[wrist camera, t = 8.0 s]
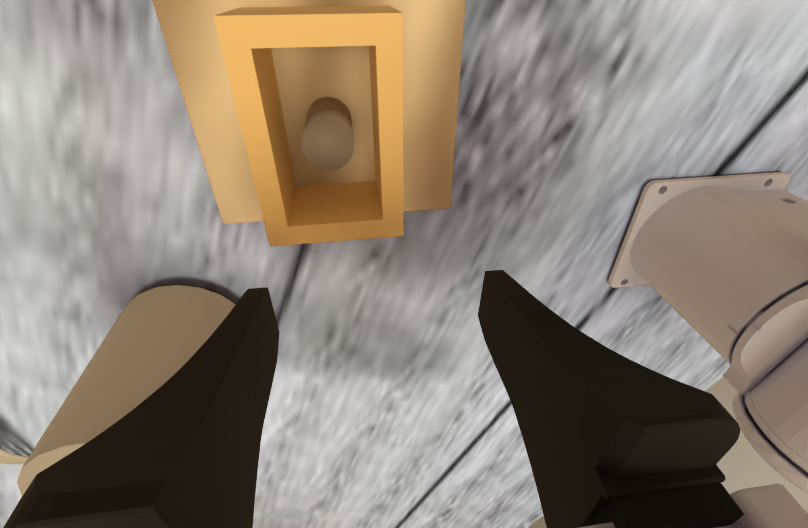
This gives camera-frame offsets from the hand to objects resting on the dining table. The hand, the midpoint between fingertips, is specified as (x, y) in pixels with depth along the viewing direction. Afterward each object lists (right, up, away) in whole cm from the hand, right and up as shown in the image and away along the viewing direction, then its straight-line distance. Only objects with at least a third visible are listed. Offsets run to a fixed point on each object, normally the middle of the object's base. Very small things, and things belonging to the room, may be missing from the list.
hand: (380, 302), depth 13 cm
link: (-3, +8, +5) cm, 10 cm away
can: (-13, -2, +12) cm, 18 cm away
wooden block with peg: (-3, +8, +6) cm, 11 cm away
